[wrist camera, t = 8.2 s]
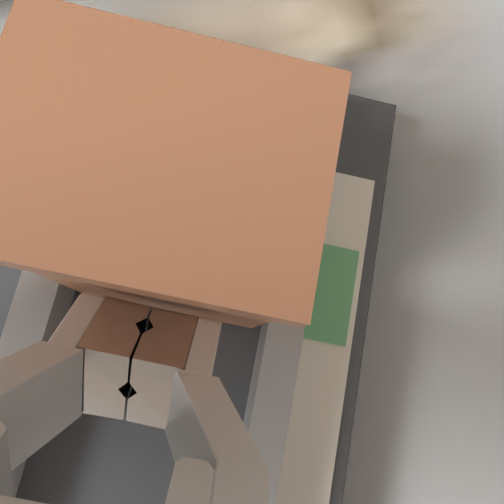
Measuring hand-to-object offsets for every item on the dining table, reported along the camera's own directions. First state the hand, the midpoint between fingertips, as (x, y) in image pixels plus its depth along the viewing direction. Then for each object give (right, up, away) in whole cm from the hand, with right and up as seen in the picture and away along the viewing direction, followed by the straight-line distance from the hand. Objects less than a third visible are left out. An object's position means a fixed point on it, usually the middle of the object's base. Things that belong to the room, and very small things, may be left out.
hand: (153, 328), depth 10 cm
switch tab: (0, +2, +4) cm, 4 cm away
